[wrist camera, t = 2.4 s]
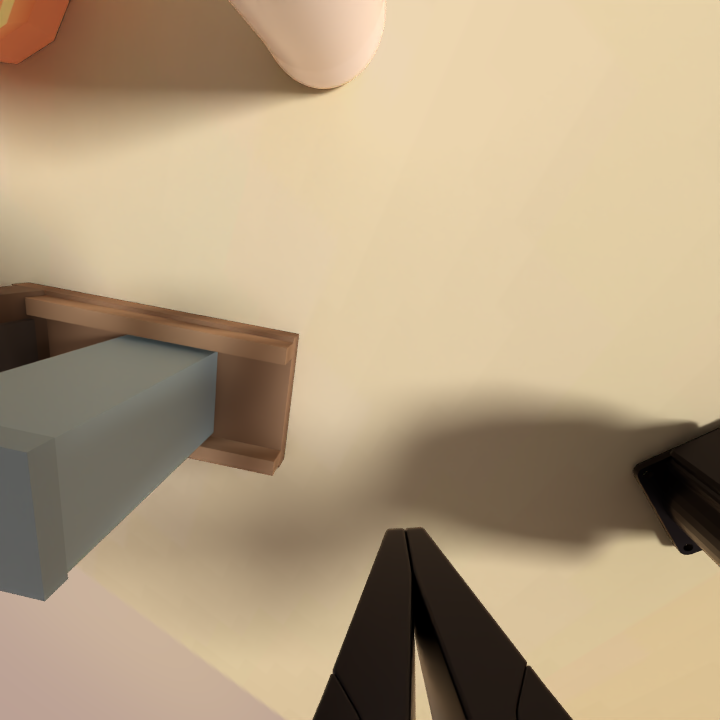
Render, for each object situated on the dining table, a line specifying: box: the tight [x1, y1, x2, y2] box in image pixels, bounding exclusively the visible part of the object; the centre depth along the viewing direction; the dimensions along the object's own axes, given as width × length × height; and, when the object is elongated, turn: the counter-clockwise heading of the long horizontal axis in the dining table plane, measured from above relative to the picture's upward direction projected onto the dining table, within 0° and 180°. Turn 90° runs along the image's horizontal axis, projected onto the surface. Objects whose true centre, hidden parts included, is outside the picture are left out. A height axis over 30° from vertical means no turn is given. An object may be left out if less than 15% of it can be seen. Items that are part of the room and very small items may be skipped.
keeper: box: [0, 335, 218, 601], centre depth 15 cm, size 5×5×11 cm
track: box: [0, 283, 299, 476], centre depth 17 cm, size 16×8×9 cm, turn 80°
